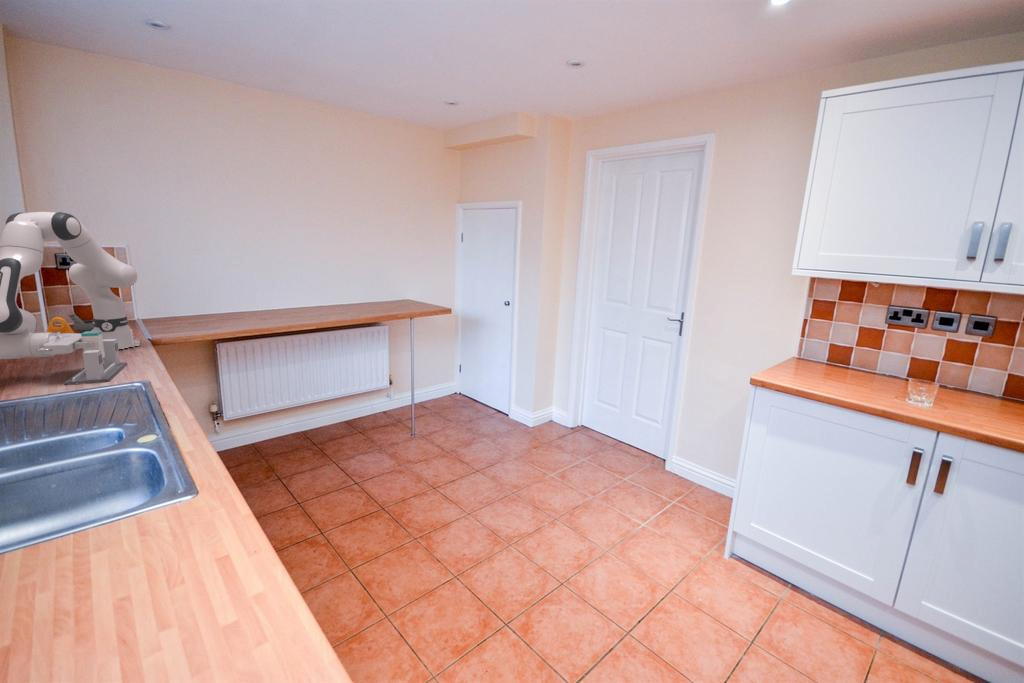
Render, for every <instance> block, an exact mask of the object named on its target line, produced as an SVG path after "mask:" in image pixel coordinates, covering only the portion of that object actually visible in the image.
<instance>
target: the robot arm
mask: <svg viewBox="0 0 1024 683" xmlns="http://www.w3.org/2000/svg"><path fill="white" fill-rule="evenodd" d="M44 242H47V243H49V242H57V243H58V244H59V245H60V246H61V248H62V249H63V250H64V252H65V254H67V255H68V256H69V257H70V259H71V260H72V261H74V262H75V263H73V264H71V266H70V267H69V270H68V277H69V279H70V281H71V282H72V283H73V284H75V285H77V286H78V287H80V288H81V290H82V291H83V292H84V293H85V294H86V296H87V298H88V300H89V302H90V306H91V310H92V314H93V318H92V321H93V326H94V329H93V330H91V331H101V332H102V339H103V340H104V339H117V343H118V349H123V350H125V349H124V348H128V347H132V346H137V345H140V346H141V341H140V342H139V341H137V340H134V339H136V336H134V331H133V329H132V328H131V327H130V326H129V320H128V316H127V315H126V310H125V303H124V300H123V299H122V298H121V297H120V296H118V295H116V294H115V293H114V292H113V291H112V290H111V288H116V289H117V288H119V289H120V288H129V287H132V286H134V285H135V284H136V283H137V281H138V273H137V270H136V269H135V268H134V266H132V265H129V264H127V263H125V262H122V261H121V260H119V259H117V258H116V257H115V256H113V255H112V254H110V253H108V252H107V251H106V250H105V249H104V248H103V247H102V246H101V244H99V242H98V241H97V240H96V239H95V238H94V236H93V235H92V233H91V232H90V231H89V230H88V228H87V227H86V226H85V225H84V224H83V223H82V222H81V221H80V220H78V218H76V217H75V216H74V215H72V214H71V213H67V212H61V211H58V212H53V211H32V212H16V213H13V214H10V215H9V216H8V217H7V219H6V221H5V226H4V228H3V231H2V233H1V236H0V360H14V359H16V360H17V359H24V358H35V359H36V358H52V357H55V356H56V355H68V354H72V353H74V352H75V351H77V350H80V349H83V348H86V347H93V346H94V342H82V337H81V334H80V332H78V333H75V332H74V333H62V334H61V333H60V332H52V333H51V332H50V333H46V332H36V331H37V327H38V326H37V325H38V321H37V318H36V316H35V315H34V314H33V313H31V312H30V311H28V310H25V309H23V308H19V305H18V303H17V297H18V292H19V288H20V287H19V286H20V283H21V280H22V279H23V278H24V277H27V276H31V275H34V274H36V273H38V272H39V271H40V270H41V268H42V264H43V262H44V252H45V251H44V248H45V246H44ZM128 349H129V348H128Z"/></svg>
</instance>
